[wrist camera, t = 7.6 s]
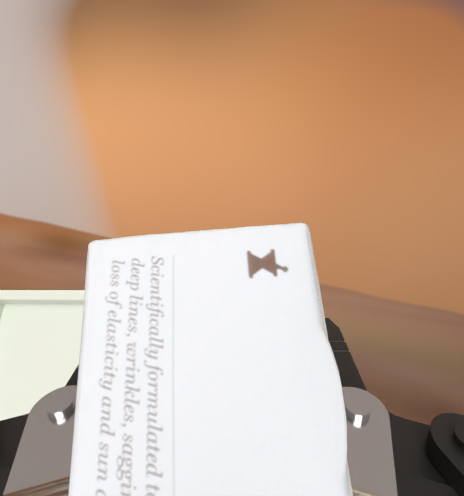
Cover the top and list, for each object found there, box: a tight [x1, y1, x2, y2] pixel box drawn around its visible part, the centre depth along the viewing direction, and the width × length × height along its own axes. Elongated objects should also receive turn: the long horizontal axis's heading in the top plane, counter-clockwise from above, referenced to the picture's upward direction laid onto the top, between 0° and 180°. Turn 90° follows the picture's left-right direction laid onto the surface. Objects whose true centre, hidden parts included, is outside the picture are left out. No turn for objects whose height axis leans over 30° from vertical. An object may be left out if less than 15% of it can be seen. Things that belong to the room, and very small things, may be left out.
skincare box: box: [69, 223, 353, 496], centre depth 11 cm, size 6×4×12 cm
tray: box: [0, 290, 85, 421], centre depth 27 cm, size 14×12×2 cm
